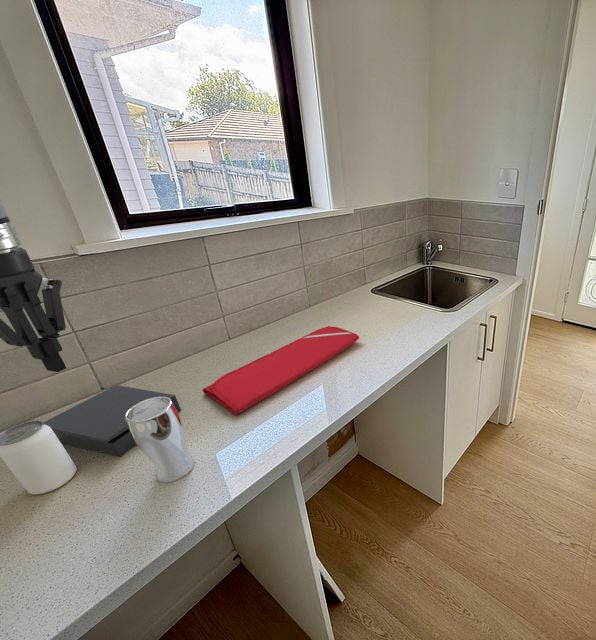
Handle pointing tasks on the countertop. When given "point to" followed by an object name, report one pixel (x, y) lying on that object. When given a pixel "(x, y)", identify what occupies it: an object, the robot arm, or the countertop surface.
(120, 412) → the lid
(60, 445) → the can
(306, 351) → the dish drying mat
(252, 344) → the countertop surface
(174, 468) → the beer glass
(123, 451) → the tray
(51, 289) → the robot arm
